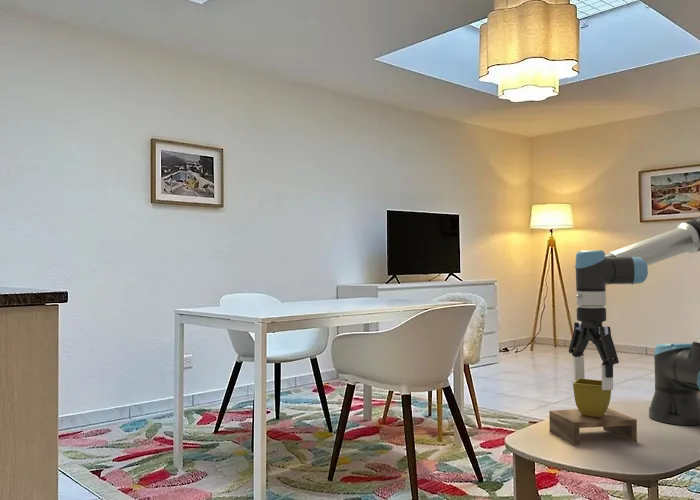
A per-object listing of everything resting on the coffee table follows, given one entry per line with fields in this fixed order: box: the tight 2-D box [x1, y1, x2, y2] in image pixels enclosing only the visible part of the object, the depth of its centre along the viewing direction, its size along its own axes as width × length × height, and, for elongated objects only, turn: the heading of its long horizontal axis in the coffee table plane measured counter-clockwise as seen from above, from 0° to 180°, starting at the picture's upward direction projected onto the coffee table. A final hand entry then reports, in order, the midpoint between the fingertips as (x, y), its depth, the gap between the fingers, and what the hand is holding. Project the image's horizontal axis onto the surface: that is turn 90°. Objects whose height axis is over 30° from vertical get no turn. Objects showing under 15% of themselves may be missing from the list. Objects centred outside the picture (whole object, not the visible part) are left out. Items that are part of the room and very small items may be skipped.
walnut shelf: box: [548, 407, 638, 447], centre depth 168 cm, size 18×13×6 cm
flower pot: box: [572, 378, 612, 417], centre depth 168 cm, size 9×9×9 cm
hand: (592, 384), depth 168 cm, fingers open, 13 cm apart
